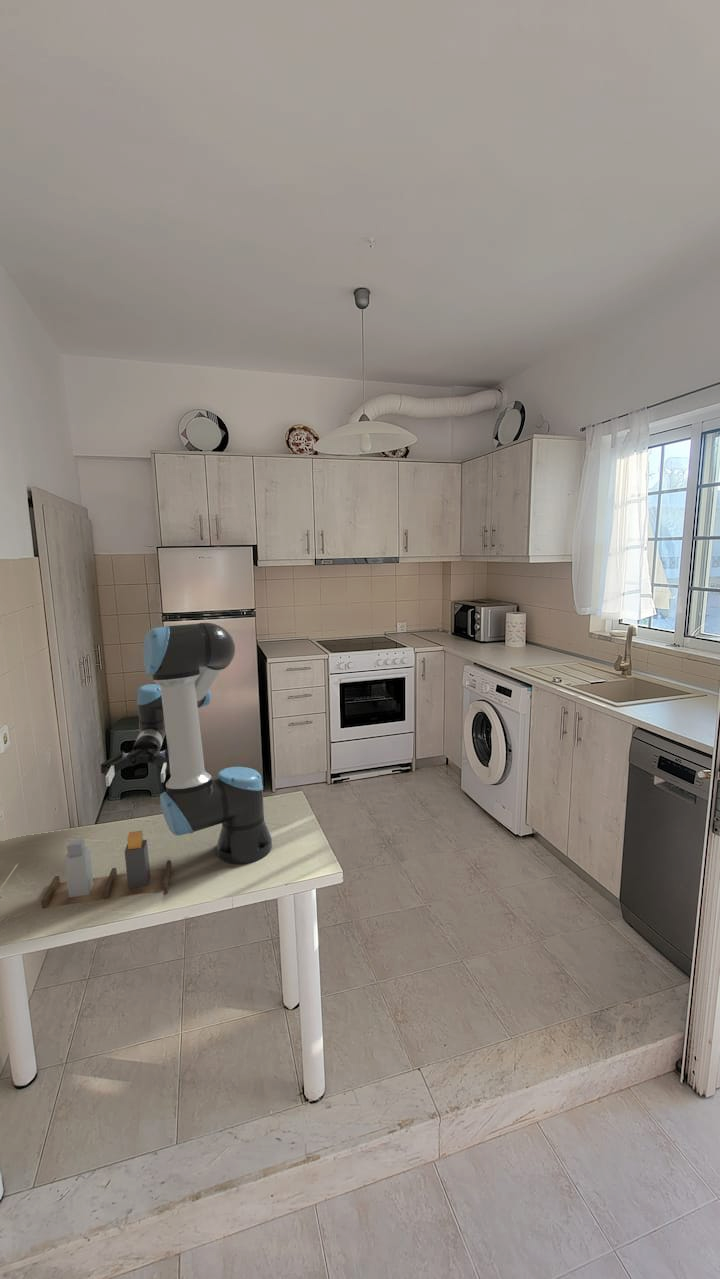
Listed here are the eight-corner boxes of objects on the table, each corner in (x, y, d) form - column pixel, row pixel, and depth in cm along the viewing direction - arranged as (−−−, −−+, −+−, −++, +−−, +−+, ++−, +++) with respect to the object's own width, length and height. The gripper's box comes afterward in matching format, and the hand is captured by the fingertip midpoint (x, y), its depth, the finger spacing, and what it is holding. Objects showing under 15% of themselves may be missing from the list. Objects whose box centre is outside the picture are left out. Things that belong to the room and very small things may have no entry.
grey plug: (93, 883, 139) (88, 836, 136) (89, 894, 134) (83, 845, 132) (74, 886, 138) (68, 838, 135) (68, 897, 133) (62, 848, 131)
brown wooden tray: (172, 870, 145) (171, 860, 145) (167, 893, 136) (166, 882, 135) (56, 887, 139) (54, 876, 139) (42, 911, 130) (41, 900, 129)
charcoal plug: (150, 875, 142) (145, 828, 139) (147, 885, 137) (142, 837, 135) (131, 878, 141) (126, 831, 138) (128, 888, 136) (123, 840, 134)
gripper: (191, 755, 169) (185, 789, 149) (104, 760, 164) (85, 796, 144) (190, 732, 167) (184, 763, 147) (102, 736, 162) (82, 769, 142)
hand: (135, 779), depth 145 cm, fingers open, 13 cm apart
